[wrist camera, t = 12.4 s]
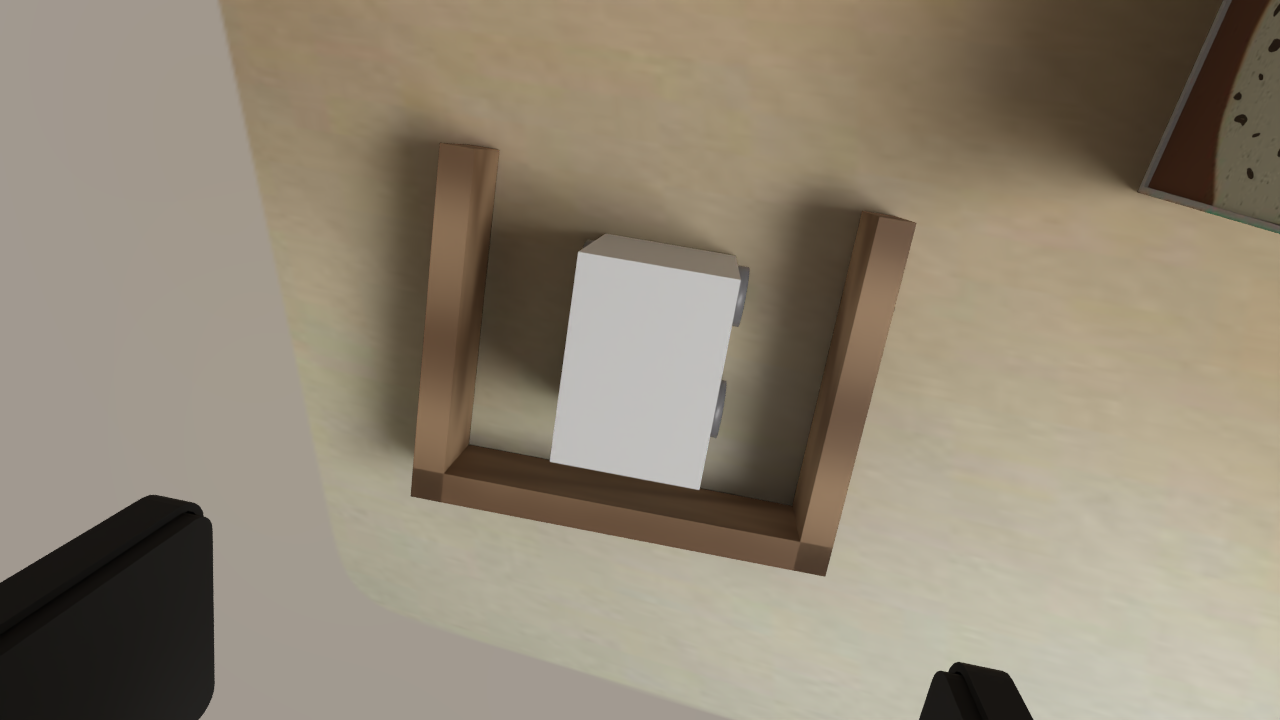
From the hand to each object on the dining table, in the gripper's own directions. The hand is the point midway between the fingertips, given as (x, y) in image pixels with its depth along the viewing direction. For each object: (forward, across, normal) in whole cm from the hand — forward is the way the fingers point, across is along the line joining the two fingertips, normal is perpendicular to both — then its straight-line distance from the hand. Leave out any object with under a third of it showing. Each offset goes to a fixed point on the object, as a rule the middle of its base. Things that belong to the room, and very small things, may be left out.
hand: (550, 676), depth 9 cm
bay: (+20, +1, +1) cm, 20 cm away
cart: (+20, +1, +1) cm, 21 cm away
